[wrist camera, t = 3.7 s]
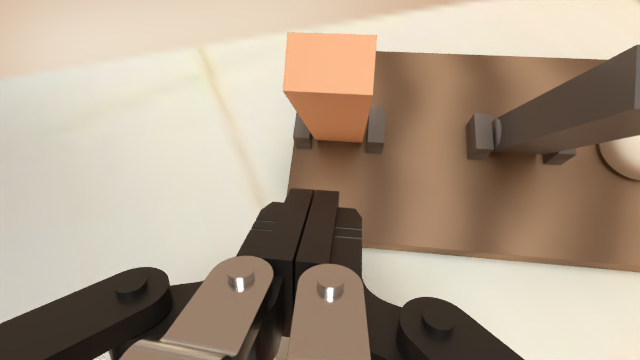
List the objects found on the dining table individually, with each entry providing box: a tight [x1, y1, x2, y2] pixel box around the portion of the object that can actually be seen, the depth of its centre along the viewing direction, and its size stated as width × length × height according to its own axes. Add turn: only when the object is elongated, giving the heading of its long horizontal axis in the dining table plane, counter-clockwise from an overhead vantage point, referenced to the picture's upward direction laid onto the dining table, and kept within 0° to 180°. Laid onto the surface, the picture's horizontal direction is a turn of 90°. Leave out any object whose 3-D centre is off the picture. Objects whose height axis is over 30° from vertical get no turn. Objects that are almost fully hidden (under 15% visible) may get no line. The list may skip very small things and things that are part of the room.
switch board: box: [287, 51, 640, 272], centre depth 22 cm, size 24×14×4 cm, turn 84°
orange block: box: [283, 32, 377, 143], centre depth 17 cm, size 3×2×12 cm, turn 84°
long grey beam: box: [492, 45, 640, 154], centre depth 16 cm, size 3×2×12 cm, turn 84°
